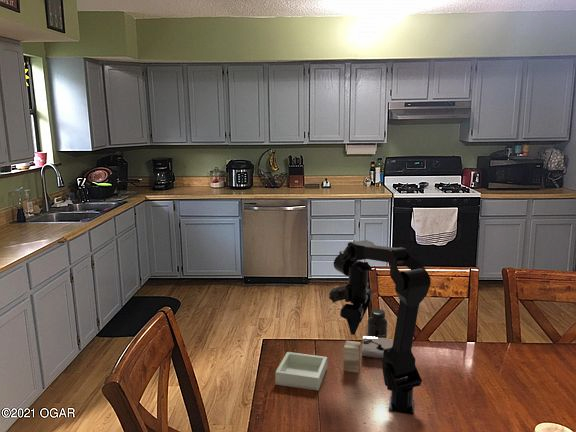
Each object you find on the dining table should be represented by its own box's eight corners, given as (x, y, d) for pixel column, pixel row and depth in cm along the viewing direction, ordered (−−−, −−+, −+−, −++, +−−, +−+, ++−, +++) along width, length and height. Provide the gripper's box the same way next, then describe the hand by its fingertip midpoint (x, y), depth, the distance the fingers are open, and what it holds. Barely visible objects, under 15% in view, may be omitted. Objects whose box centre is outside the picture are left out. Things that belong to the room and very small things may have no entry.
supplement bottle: (381, 350, 164) (382, 317, 161) (363, 344, 168) (364, 312, 165) (389, 342, 169) (391, 310, 167) (372, 337, 173) (373, 306, 171)
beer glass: (408, 336, 160) (363, 331, 163) (409, 343, 153) (362, 339, 156) (407, 356, 161) (362, 351, 164) (408, 364, 154) (361, 359, 157)
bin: (318, 390, 139) (318, 378, 139) (275, 384, 143) (275, 372, 142) (326, 368, 152) (327, 356, 151) (287, 363, 155) (287, 351, 154)
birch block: (358, 372, 149) (358, 348, 148) (343, 370, 151) (344, 347, 149) (359, 365, 154) (360, 342, 152) (345, 363, 155) (346, 340, 153)
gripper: (339, 268, 158) (338, 312, 162) (324, 287, 141) (322, 336, 144) (373, 272, 154) (371, 317, 158) (361, 293, 137) (359, 343, 141)
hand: (356, 328), depth 150 cm, fingers open, 9 cm apart
